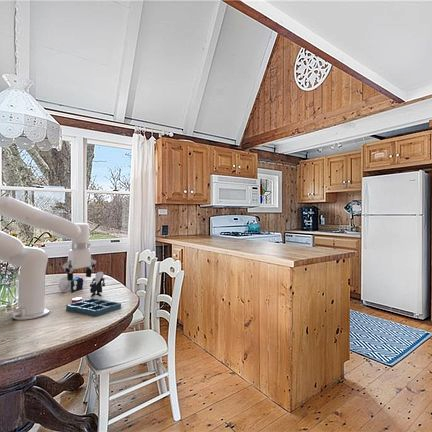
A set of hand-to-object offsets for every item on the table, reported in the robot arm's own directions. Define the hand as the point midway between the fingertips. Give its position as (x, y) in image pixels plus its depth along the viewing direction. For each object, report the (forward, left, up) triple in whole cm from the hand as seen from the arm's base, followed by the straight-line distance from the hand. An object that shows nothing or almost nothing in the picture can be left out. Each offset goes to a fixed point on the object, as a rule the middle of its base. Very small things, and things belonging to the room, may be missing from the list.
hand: (79, 278), depth 160 cm
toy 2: (+19, +9, -14) cm, 25 cm away
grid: (-3, -16, -13) cm, 21 cm away
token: (-1, 0, -13) cm, 13 cm away
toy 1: (+16, +29, -14) cm, 36 cm away
